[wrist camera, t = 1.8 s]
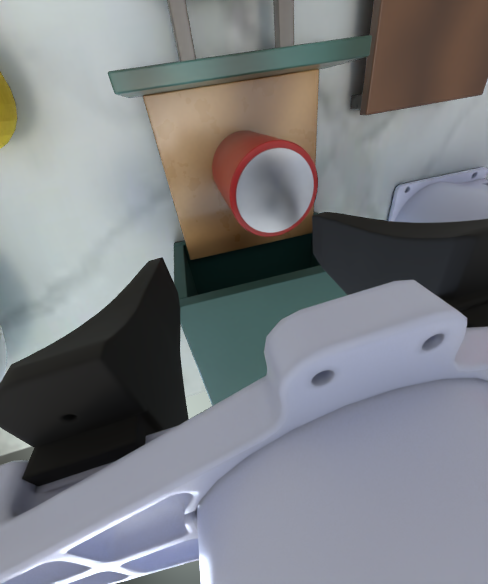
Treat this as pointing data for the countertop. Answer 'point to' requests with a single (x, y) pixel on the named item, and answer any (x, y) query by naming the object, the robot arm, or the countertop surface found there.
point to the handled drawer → (230, 116)
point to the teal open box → (244, 305)
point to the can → (265, 181)
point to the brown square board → (424, 54)
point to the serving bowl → (2, 355)
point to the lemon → (6, 112)
